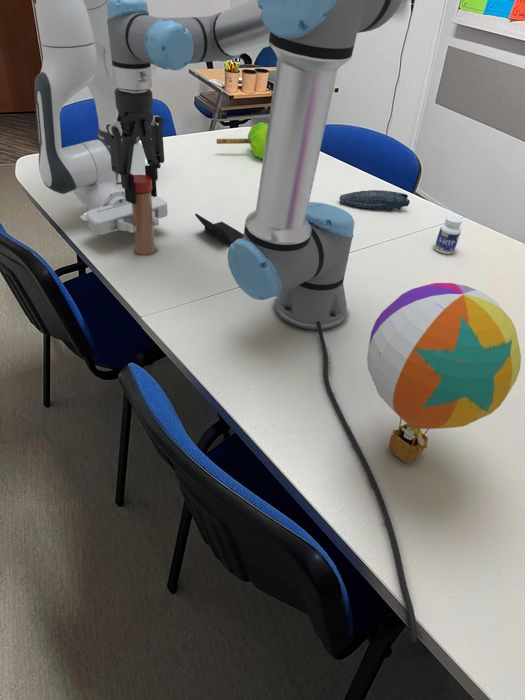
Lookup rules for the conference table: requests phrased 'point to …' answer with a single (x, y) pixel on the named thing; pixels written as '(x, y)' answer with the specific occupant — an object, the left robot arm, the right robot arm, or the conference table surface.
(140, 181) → the lid
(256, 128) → the decorative tree
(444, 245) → the pill bottle
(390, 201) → the fish model
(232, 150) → the conference table surface
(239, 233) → the handheld gaming console
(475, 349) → the toy
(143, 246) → the jar
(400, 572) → the right robot arm
